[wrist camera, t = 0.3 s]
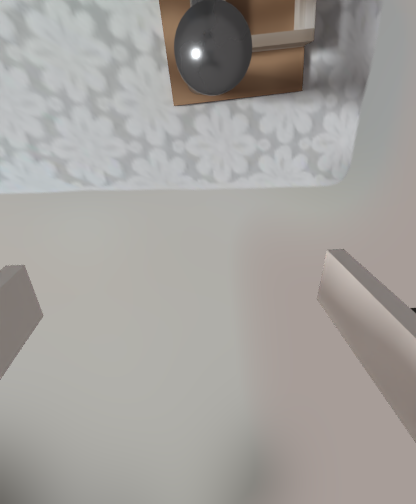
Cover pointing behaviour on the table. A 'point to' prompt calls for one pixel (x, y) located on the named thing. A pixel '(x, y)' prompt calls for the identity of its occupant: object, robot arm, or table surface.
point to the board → (253, 47)
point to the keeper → (212, 47)
